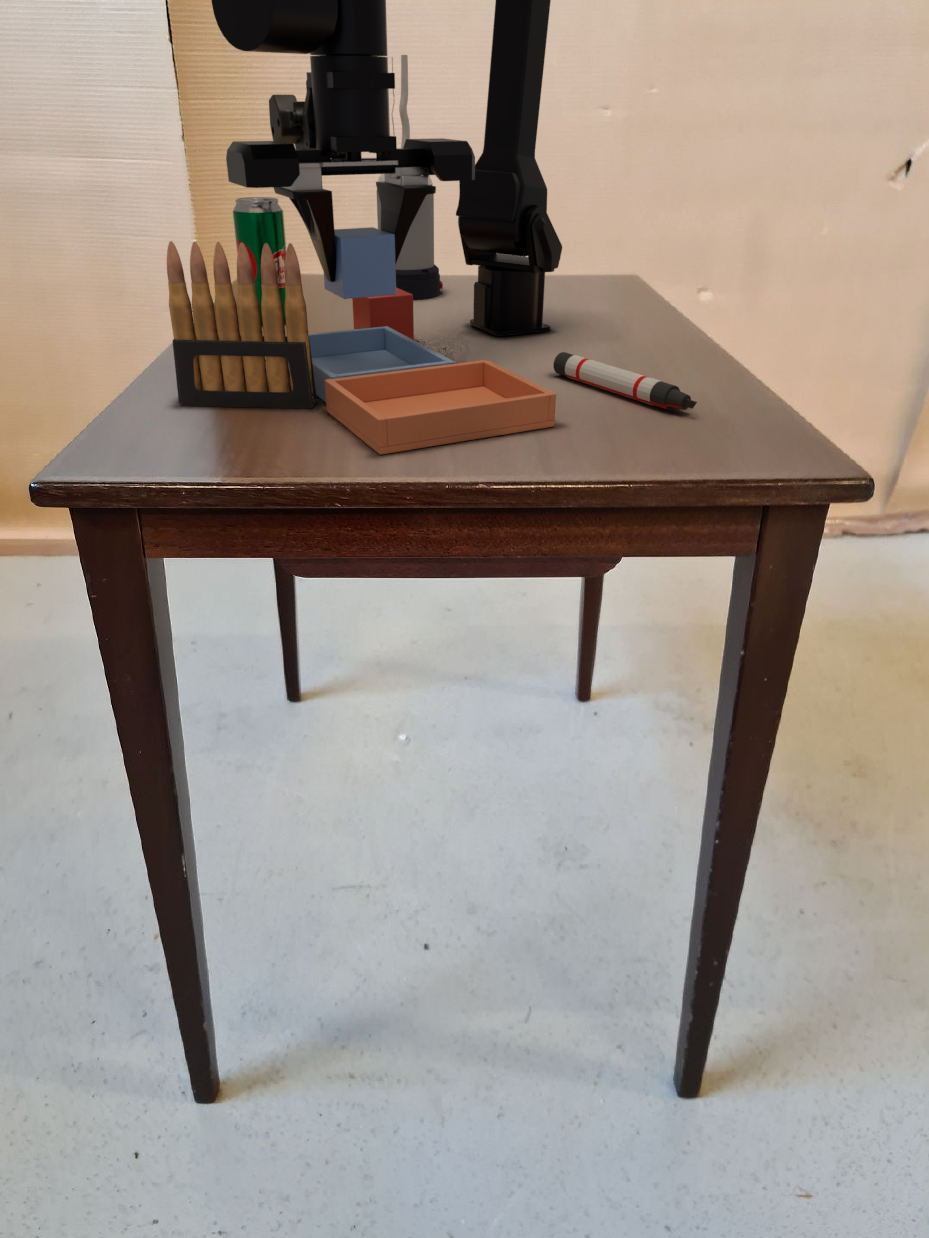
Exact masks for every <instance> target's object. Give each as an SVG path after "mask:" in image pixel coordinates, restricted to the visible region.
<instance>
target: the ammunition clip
mask: <svg viewBox="0 0 929 1238" xmlns="http://www.w3.org/2000/svg"><path fill="white" fill-rule="evenodd" d="M286 250H287V251H286V257H285V294H286V296H285V319H286V322H285V323H284V314H283V305H282V301H281V297H280V293H279V285H278V280H277V272H276V266H275V262H274V258H273V255H272V252H271V249H270V247H269V245H268V244H267V243H265V244H264V246H263V250H262V256H261V282H262V284H261V288H262V300H261V312H262V322H263V325H261V316H260V307H259V302H258V298H257V295H256V289H255V283H254V277H253V270H252V265H251V261H250V257H249V254H248V251H247V249H246V247H245V245H244V243H242V242H241V243H240V245H239V249H238V255H237V254H236V255H237V256H236V278H237V279H236V280H237V301H236V297H235V294H234V290H233V285H232V284H233V283H232V280H231V279H232V278H231V271H230V266H229V263H228V258H227V256H226V255H227V254H226V253H225V249H224V247H223V245H222V244H221V242H219V241H217V242H216V243H215V247H214V251H213V262H212V263H213V265H212V266H213V279H214V280H213V281H214V283H213V285H214V300H213V297H212V294H211V289H210V288H211V287H210V283H209V280H208V273H207V267H206V263H205V259H204V256H203V253H202V251H201V249H200V246H199V244H198V243H197V242H196V241H193V242H192V244H191V248H190V254H189V255H190V256H189V271H190V272H189V273H190V281H191V283H190V284H191V285H190V286H191V299H190V296H189V292H188V287H187V282H186V277H185V273H184V272H185V271H184V268H183V263H182V260H181V256H180V254H179V251H178V249H177V247H176V245H175V243H174V241H172V240H170V241H169V242H168V245H167V250H166V274H167V280H168V282H167V286H168V295H169V296H168V308H169V313H170V322H171V328H172V336H173V339H172V347H173V348H172V349H173V360H174V369H175V380H176V388H177V389H176V390H177V396H178V397H177V399H178V404H179V405H180V406H182V407H183V406H184V407H185V406H186V407H224V408H225V407H231V408H271V409H272V408H274V409H313V408H314V407H315V405H316V403H317V401H318V398H317V397H318V396H317V395H316V388H315V380H314V372H313V364H312V356H311V348H310V340H309V335H308V334H309V323H308V313H307V311H308V310H307V305H306V304H307V303H306V300H305V296H304V290H303V284H302V273H301V267H300V263H299V258H298V255H297V252H296V249H295V247H294V245H293V244H292V243H291V242H290V243H288V245H287V246H286ZM286 336H287V337H286ZM288 362H289V367H290V374H289V367H288Z"/></svg>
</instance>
